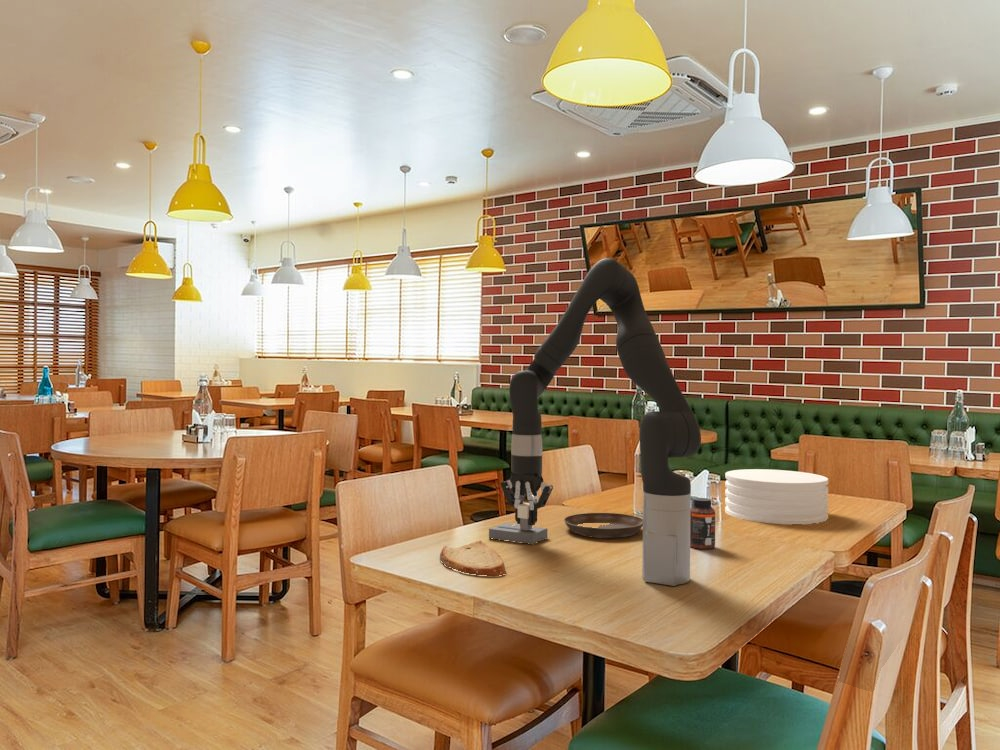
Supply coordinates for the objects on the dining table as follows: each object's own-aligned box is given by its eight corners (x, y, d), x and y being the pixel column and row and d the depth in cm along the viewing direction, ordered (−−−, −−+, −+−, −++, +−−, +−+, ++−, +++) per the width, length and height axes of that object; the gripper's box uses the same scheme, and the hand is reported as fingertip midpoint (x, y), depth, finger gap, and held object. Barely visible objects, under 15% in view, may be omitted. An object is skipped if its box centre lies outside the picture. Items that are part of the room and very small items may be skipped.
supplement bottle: (716, 550, 163) (716, 501, 163) (689, 549, 164) (690, 500, 164) (713, 544, 169) (714, 497, 169) (688, 543, 170) (688, 496, 170)
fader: (527, 531, 169) (527, 506, 169) (517, 530, 170) (517, 505, 170) (534, 528, 172) (534, 503, 172) (525, 527, 174) (525, 502, 174)
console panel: (532, 545, 167) (532, 534, 167) (488, 538, 173) (489, 528, 173) (547, 538, 174) (547, 527, 174) (504, 532, 180) (504, 522, 180)
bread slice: (500, 581, 139) (501, 562, 139) (418, 571, 145) (418, 553, 145) (527, 559, 156) (528, 542, 156) (453, 551, 162) (453, 535, 162)
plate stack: (717, 504, 222) (718, 468, 222) (811, 507, 218) (811, 470, 218) (734, 523, 195) (735, 481, 194) (842, 526, 191) (842, 484, 191)
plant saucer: (547, 529, 185) (547, 517, 185) (603, 520, 197) (603, 508, 197) (604, 545, 168) (604, 531, 168) (661, 534, 181) (661, 521, 181)
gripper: (494, 452, 171) (493, 523, 171) (546, 456, 164) (545, 530, 164) (508, 449, 178) (508, 518, 178) (559, 453, 171) (558, 524, 171)
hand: (526, 523), depth 171 cm, fingers closed on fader, 2 cm apart
